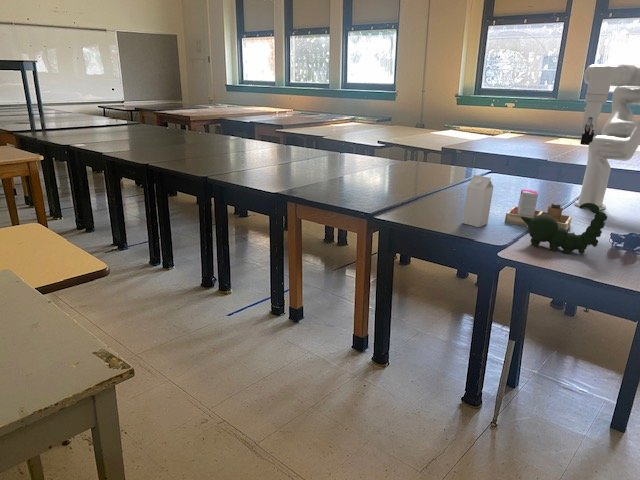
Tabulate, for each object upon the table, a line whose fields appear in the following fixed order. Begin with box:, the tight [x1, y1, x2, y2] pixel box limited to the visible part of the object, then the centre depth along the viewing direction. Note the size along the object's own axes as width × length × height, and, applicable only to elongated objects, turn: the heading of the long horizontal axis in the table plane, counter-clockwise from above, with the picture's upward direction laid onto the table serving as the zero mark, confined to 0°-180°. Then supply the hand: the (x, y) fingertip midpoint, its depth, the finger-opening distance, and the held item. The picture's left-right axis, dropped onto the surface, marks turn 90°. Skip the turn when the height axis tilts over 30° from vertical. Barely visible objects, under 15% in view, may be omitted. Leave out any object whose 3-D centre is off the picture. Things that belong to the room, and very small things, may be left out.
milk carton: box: [461, 173, 494, 228], centre depth 185 cm, size 7×7×19 cm
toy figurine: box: [521, 203, 608, 255], centre depth 162 cm, size 9×19×25 cm
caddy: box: [504, 202, 573, 231], centre depth 189 cm, size 13×22×9 cm, turn 56°
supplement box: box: [516, 189, 539, 217], centre depth 192 cm, size 6×6×12 cm
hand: (586, 143), depth 193 cm, fingers open, 9 cm apart
